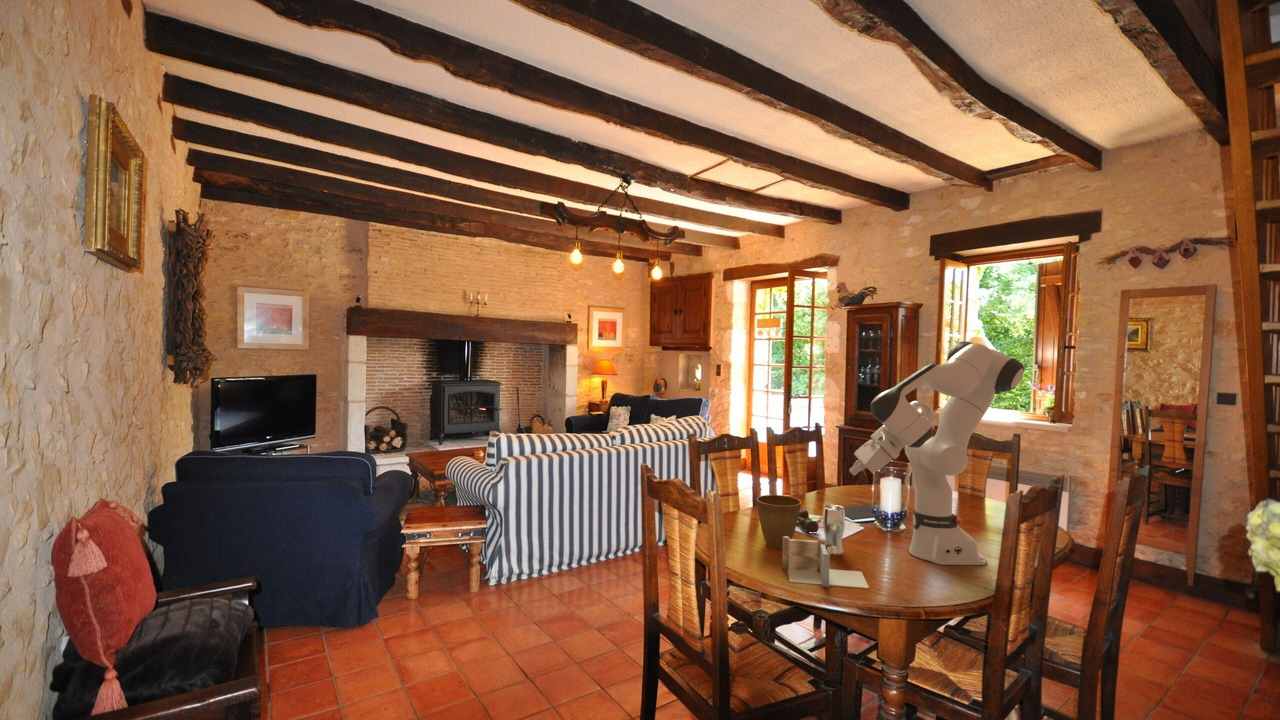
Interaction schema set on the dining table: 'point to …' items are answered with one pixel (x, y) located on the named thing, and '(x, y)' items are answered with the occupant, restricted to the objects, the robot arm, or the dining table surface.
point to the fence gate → (824, 565)
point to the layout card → (835, 578)
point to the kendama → (807, 521)
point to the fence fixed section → (801, 554)
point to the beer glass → (833, 528)
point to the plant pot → (778, 518)
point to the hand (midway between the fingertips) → (851, 473)
